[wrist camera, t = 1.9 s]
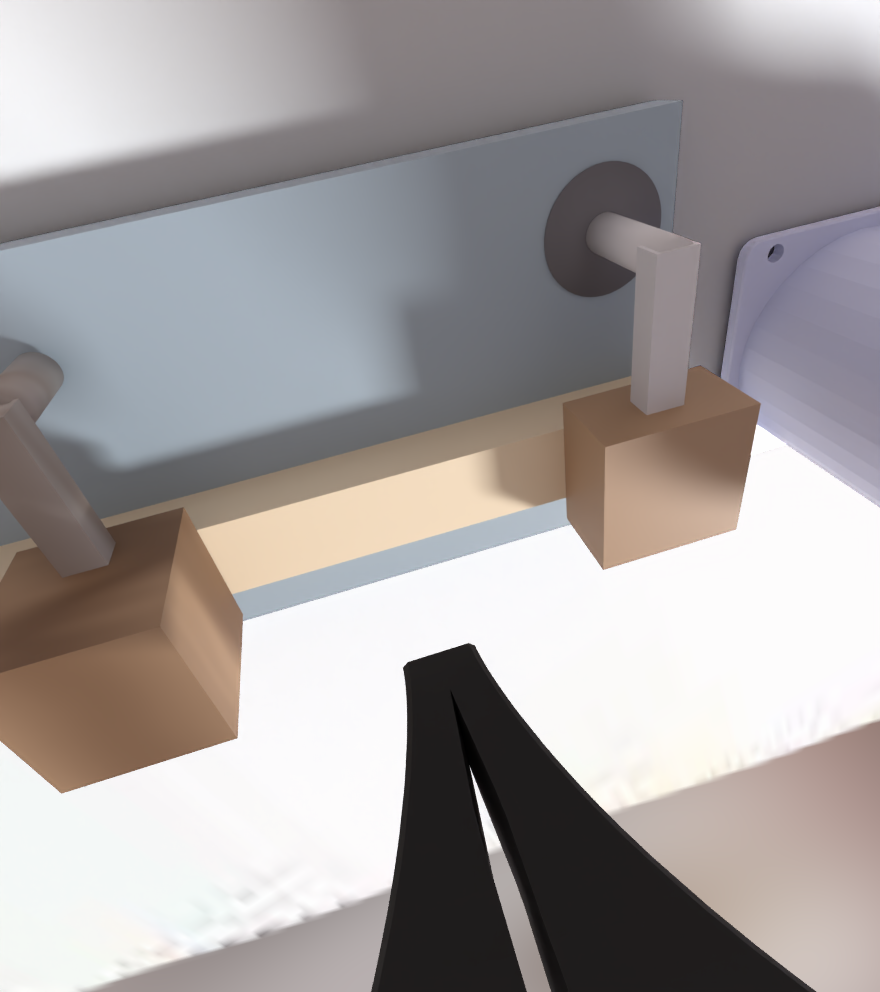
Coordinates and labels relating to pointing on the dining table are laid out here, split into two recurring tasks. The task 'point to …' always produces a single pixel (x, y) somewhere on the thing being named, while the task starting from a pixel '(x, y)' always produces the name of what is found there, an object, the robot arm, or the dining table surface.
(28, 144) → the dining table surface
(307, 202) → the gauge board
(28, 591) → the slider
